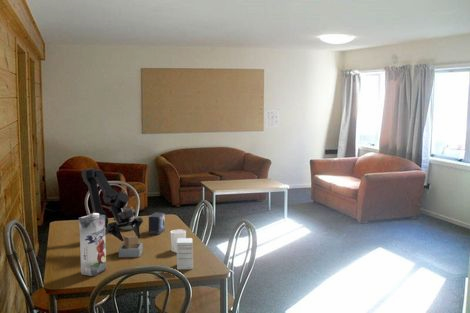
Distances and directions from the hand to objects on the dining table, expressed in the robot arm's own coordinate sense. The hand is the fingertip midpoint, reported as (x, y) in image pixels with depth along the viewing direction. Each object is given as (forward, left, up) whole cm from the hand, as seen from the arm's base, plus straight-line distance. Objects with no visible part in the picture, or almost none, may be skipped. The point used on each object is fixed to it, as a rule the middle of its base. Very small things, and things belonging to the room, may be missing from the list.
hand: (131, 239), depth 248 cm
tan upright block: (0, 0, -8) cm, 8 cm away
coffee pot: (-15, +46, -8) cm, 49 cm away
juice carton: (-12, -26, -8) cm, 30 cm away
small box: (+8, +39, -8) cm, 41 cm away
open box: (0, 0, -7) cm, 8 cm away
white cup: (+23, +5, -8) cm, 25 cm away
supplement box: (+28, -19, -8) cm, 34 cm away
